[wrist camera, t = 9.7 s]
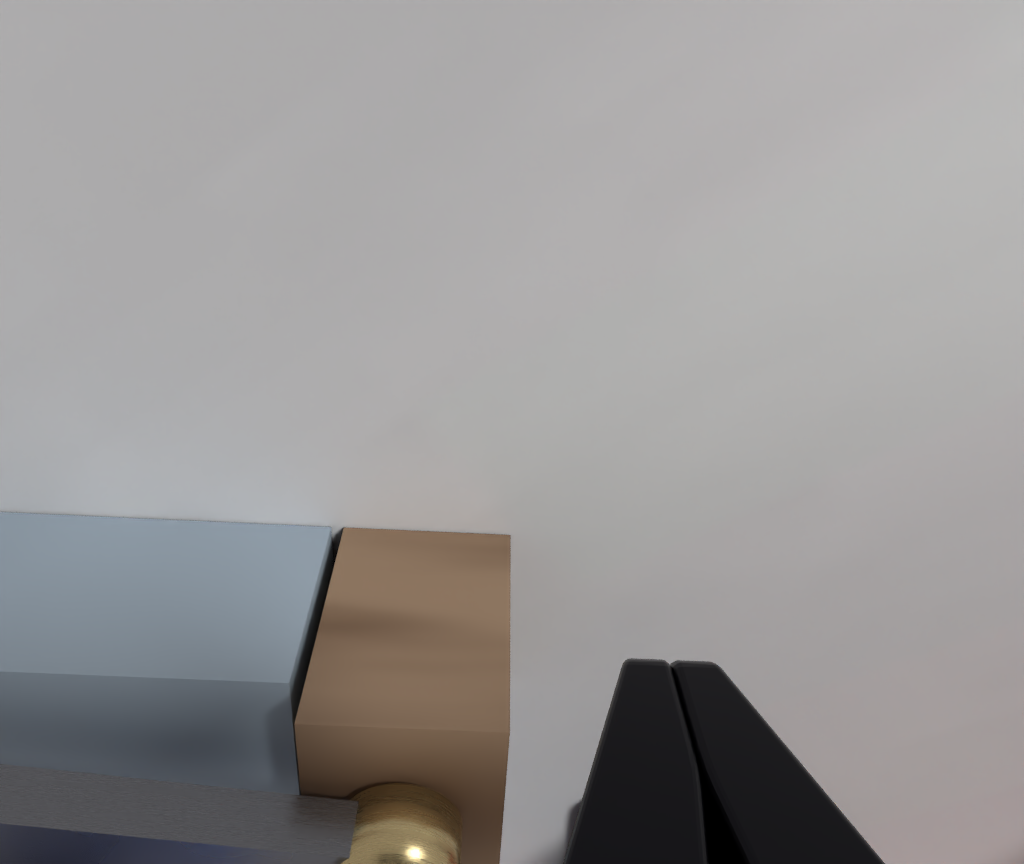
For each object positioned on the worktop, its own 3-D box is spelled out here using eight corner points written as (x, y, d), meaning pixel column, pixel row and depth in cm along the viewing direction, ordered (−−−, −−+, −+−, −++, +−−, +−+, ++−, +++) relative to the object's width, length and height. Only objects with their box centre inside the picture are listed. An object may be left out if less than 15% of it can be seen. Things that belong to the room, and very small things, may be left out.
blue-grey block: (339, 676, 25) (279, 961, 19) (-157, 656, 25) (-394, 939, 18) (331, 527, 23) (258, 796, 16) (-223, 502, 22) (-525, 767, 16)
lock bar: (470, 790, 18) (467, 866, 17) (454, 865, 19) (450, 942, 18) (-252, 713, 17) (-319, 787, 16) (-221, 798, 18) (-280, 874, 17)
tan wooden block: (500, 683, 25) (497, 892, 20) (350, 677, 25) (309, 886, 20) (510, 534, 23) (509, 732, 18) (343, 527, 23) (294, 724, 18)
